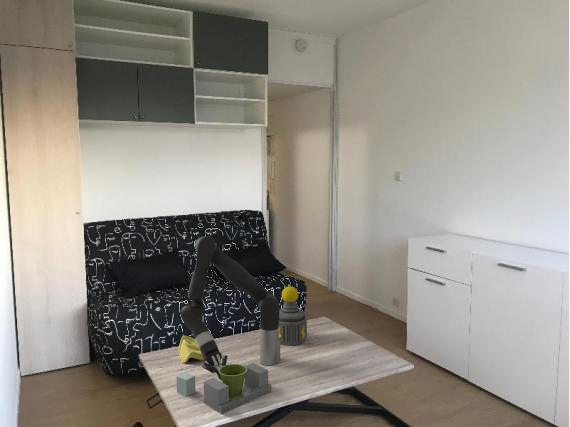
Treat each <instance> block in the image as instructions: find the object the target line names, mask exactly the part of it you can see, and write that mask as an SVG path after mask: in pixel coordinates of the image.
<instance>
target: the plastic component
mask: <svg viewBox="0 0 570 427" xmlns="http://www.w3.org/2000/svg"><path fill="white" fill-rule="evenodd" d="M178 356H179V359H180V361H181V363H183V364H185V363H187V362H188V360H189V359H191V358H193V359H196V360H199V361H204V357H203V356H202V354H201V351H200V349H199V347H198V345H197V343H196V340H195V338H193V337H191V336H188V335H182V337H181V338H180V342H179V346H178Z"/></svg>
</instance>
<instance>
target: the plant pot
mask: <svg viewBox="0 0 570 427" xmlns="http://www.w3.org/2000/svg"><path fill="white" fill-rule="evenodd" d="M245 366H246V365H243V364H239V363H231V364H230V363H229V364H226V365H225V366H222V367H221V368H220V369H219V373H220V375H221V378H222V381H221V382H222V383H224V384H226V385H228V386H229V400H230V399H232V398H234V397H237V396H239V395H241V394H243V388H244V377H245V374H246V372H247V368H246V367H245Z"/></svg>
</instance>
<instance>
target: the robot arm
mask: <svg viewBox="0 0 570 427" xmlns="http://www.w3.org/2000/svg"><path fill="white" fill-rule="evenodd" d="M194 243H195V244H194V249H195V251H196V261H195V266H194V270H193V273H192V275H191V280H190V283H189V287H188V292H187V299H188V300H190V301H191V304H190V305H189V304H188V305H185V306H183V307H182V308H181V310H180V317H181V319H182V321H183V322H184V324H185V325H186V326H187V328H188V329H189V330H190V331H191V333H192V335H193V337H194V339H195V340H196V343H197V345H198V347H199V349H200V351H201V354H202V356H203V357H204V360H203V361H204V362H203V363H202V366H201V368H203V369H205V370H206V371H208V372H210V373H212V374H216V375H217V377H218V380H219V381H220V382H222V378H221V375H220V373H219V369H220V368H221V367H222V366H225V365H227V361H228V355H226V354H225V355H223V354H222V352H221V351H220V349H219V347H218V345H217V343H216V339H214V336H213V334H212V333H211V332H210V330H209V327H208V326H207V324H206V322H204V321H203V320H200V319H201V318H202V317H203V314H204V299H203V298H204V294H205V288H206V283H207V278H208V272H209V270H210V265H211V264H212V265H213V266H215V268H216V270H218V271H219V272H220V273H221V275H222V276H223V277H224V279H226V280H227V281H228V282H230V283H231V285H233V286H234V287H236V288H237V289H238V290H239V291H241V292H243V293H244V294H246V295H247V296H249V297H250V298H251V299H252V300H253V301H254V302H255V303H256V304H257V306H258V307H259V310H260V314H259V315H260V316H259V317H260V318H259V319H260V320H259V363H260V364H261V365H263V366H274V365H277V364H278V363H280V361H281V344H280V342H279V310H280V303H279V301H278V299H277V297H276V296H275V295H274V294H273V293H271V292H269V291H268V290H267V289H265V288H264V287H263V286H262V285H261V284H260V283H259V282H258V281H257V280H256V279H255V278H254V277H253V276H252V275H251V274H250V273H249V272H248V271H247V269H245V268H244V267H243V266H242V265H241V264H240V263H238V262H237V261H236V260H234V259H233V258H231V257H230V256H228V255H227V254H226V253H225V252H223V251H222V250H221V249H220V248H219V247H218V246H217V244H216V241H215V240H214V238H213V237H211V236H208V235H207V236H205V235H204V236H201V237H198V238H197V239H196V241H195V242H194Z"/></svg>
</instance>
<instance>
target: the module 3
mask: <svg viewBox="0 0 570 427" xmlns="http://www.w3.org/2000/svg"><path fill="white" fill-rule="evenodd" d="M244 366H245V367H246V368H247V372H246V374H245V377H244V383H243V386H244V387H245V388H247V389H249V390H253V389H255V388H257V387H261V386H263V385H266V384H269V369H267V368H265V367H263V366H260V365H258V364H256V363H254V362H252V363H249V364H247V365H244Z"/></svg>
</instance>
